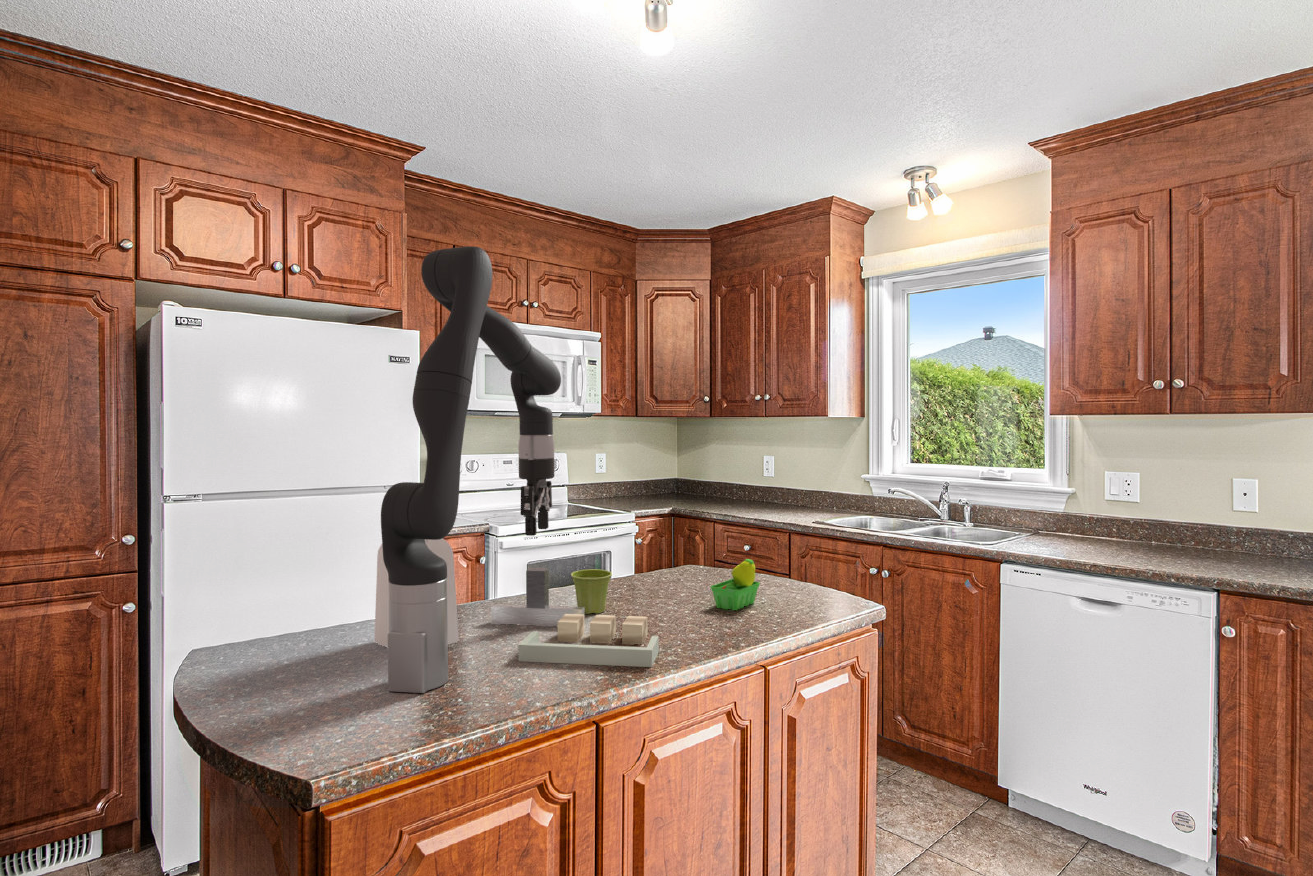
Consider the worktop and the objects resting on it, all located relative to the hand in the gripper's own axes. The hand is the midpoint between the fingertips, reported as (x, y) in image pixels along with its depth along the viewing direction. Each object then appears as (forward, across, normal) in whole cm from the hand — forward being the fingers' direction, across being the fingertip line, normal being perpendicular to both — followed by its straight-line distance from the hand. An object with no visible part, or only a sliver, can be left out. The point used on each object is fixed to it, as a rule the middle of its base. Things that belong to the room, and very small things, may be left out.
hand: (537, 532), depth 152 cm
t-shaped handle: (+20, 0, 0) cm, 20 cm away
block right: (+20, +8, +22) cm, 31 cm away
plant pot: (+20, -12, +9) cm, 25 cm away
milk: (+20, +15, -20) cm, 32 cm away
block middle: (+20, +8, +16) cm, 27 cm away
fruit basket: (+20, -21, +42) cm, 51 cm away
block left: (+20, +8, +10) cm, 24 cm away
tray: (+20, +19, +16) cm, 32 cm away
